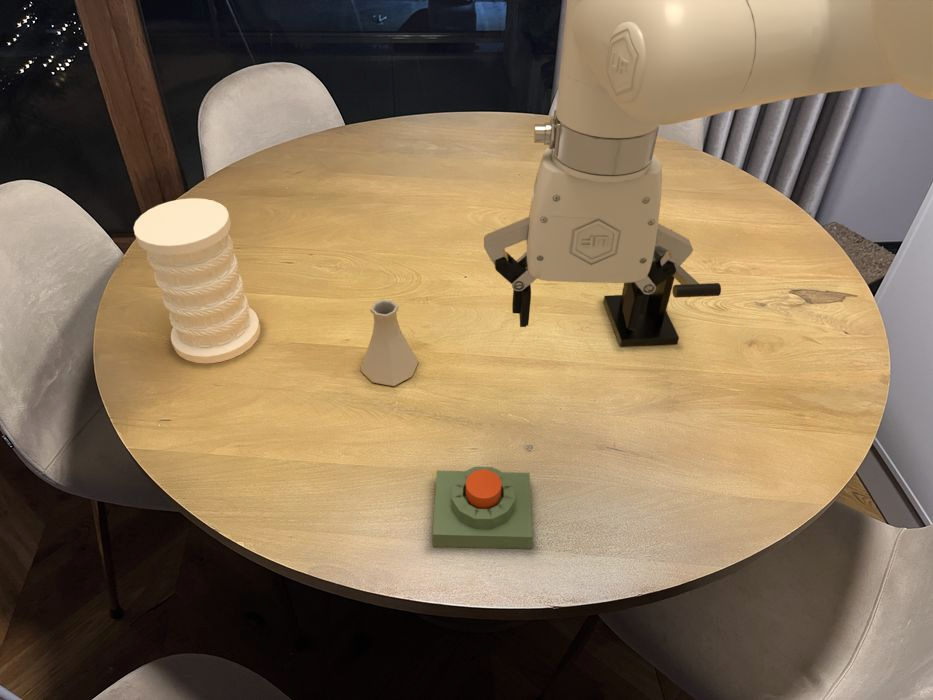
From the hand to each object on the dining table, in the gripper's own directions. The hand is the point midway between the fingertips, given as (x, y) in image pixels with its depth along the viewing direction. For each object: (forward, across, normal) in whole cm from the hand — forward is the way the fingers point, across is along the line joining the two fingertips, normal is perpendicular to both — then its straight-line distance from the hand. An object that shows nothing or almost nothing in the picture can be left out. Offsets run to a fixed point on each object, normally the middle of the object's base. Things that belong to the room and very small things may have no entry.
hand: (575, 318), depth 62 cm
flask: (+22, -20, +16) cm, 34 cm away
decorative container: (+22, -44, +22) cm, 54 cm away
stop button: (+18, -8, -6) cm, 21 cm away
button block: (+22, -8, -6) cm, 24 cm away
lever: (+9, +15, +20) cm, 26 cm away
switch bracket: (+22, +14, +26) cm, 37 cm away
